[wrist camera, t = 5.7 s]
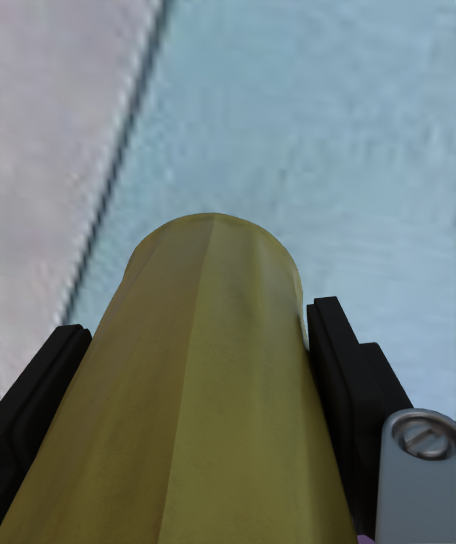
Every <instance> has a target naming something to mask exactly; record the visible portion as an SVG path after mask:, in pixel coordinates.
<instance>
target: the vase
mask: <svg viewBox="0 0 456 544" xmlns="http://www.w3.org/2000/svg"><path fill="white" fill-rule="evenodd" d="M302 302H303V291H302V285H301V279H300V276H299V273H298V269H297V267H296V265H295V262H294V260H293V258H292V257H291V255H290V254H289V253H288V251H287V250H286V249H285V247H284V246H283V245H282V244H281V243H280V242H279V241H278V240H277V239H276V238H275V237H274V236H273V235H271V234H270V233H269V232H268V231H266V230H265V229H263V228H262V227H260V226H258V225H256V224H254V223H251V222H249V221H246V220H243V219H240V218H237V217H234V216H230V215H226V214H220V213H201V214H193V215H187V216H183V217H180V218H176V219H174V220H172V221H169V222H168V223H166V224H164V225H162V226H161V227H159V228H157V229H156V230H154V231H153V232H152V233H150V234H149V235H148V236H147V237H146V238H144V239H143V240H142V241H141V242H140V244H139V245H138V246H137V247H136V248H135V250H134V252H133V253H132V255H131V257H130V259H129V261H128V264H127V267H126V269H125V273H124V276H123V279H122V282H121V284H120V285H119V287H118V289H117V291H116V292H115V294H114V296H113V298H112V300H111V301H110V303H109V305H108V307H107V309H106V311H105V313H104V315H103V317H102V319H101V321H100V323H99V325H98V328H97V330H96V332H95V334H94V336H93V339H92V341H91V343H90V345H89V347H88V349H87V352H86V354H85V356H84V357H83V359H82V361H81V363H80V365H79V367H78V369H77V371H76V373H75V375H74V377H73V378H72V380H71V382H70V384H69V386H68V388H67V390H66V392H65V394H64V396H63V398H62V401H61V403H60V405H59V407H58V409H57V411H56V413H55V416H54V418H53V420H52V422H51V425H50V427H49V429H48V431H47V433H46V435H45V437H44V439H43V442H42V444H41V446H40V448H39V450H38V453H37V455H36V458H35V460H34V462H33V463H32V465H31V467H30V469H29V471H28V473H27V475H26V477H25V479H24V481H23V482H22V484H21V486H20V488H19V490H18V492H17V494H16V496H15V498H14V500H13V502H12V504H11V506H10V508H9V510H8V512H7V514H6V516H5V518H4V520H3V522H2V524H1V526H0V544H359V542H358V538H357V534H356V531H355V527H354V524H353V520H352V517H351V514H350V510H349V507H348V503H347V500H346V496H345V493H344V489H343V485H342V481H341V477H340V473H339V469H338V465H337V462H336V458H335V454H334V450H333V446H332V442H331V437H330V432H329V428H328V423H327V418H326V414H325V409H324V405H323V401H322V397H321V393H320V389H319V385H318V381H317V378H316V374H315V370H314V366H313V363H312V359H311V355H310V351H309V344H308V339H307V334H306V330H305V325H304V320H303V309H302Z"/></svg>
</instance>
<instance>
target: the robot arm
mask: <svg viewBox="0 0 456 544" xmlns="http://www.w3.org/2000/svg"><path fill="white" fill-rule="evenodd" d="M307 322H308V337H309V351H310V355H311V359H312V363H313V366H314V370H315V374H316V378H317V381H318V385H319V389H320V393H321V397H322V401H323V405H324V409H325V414H326V418H327V423H328V428H329V432H330V437H331V442H332V446H333V450H334V454H335V458H336V462H337V465H338V469H339V473H340V477H341V481H342V485H343V489H344V493H345V496H346V500H347V503H348V507H349V510H350V514H351V517H352V520H353V524H354V527H355V531H356V534H357V536H359V535H365V536H367V537H368V538H370V539H371V540H373V541H374V542H375V544H456V421H454V420H453V419H451V418H450V417H448V416H446V415H443V414H441V413H439V412H436V411H432V410H427V409H419V408H414V407H413V405H412V404H411V402H410V400H409V398H408V396H407V395H406V393H405V391H404V389H403V387H402V386H401V384H400V382H399V380H398V379H397V377H396V375H395V373H394V371H393V370H392V368H391V366H390V364H389V362H388V361H387V359H386V357H385V355H384V353H383V352H382V350H381V348H380V346H379V345H378V344H377V343H375V342H373V343H363V344H359V342H358V340H357V338H356V336H355V334H354V332H353V330H352V328H351V326H350V324H349V322H348V320H347V317H346V315H345V313H344V311H343V309H342V307H341V305H340V303H339V301H338V299H337V297H336V296H333V297H324V298H315V299H314V304H310V305H307ZM91 341H92V336H91V333H90V331H89V329H84V328H83V327H82V325H80V324H75V325H66V326H58V327H57V328H56V329H55V330H54V331H53V333H52V334H51V335H50V337H49V338H48V339H47V340H46V342H45V343H44V344H43V346H42V347H41V348H40V350H39V351H38V352H37V354H36V355H35V356H34V358H33V359H32V360H31V362H30V363H29V364H28V365H27V367H26V368H25V369H24V371H23V372H22V373H21V375H20V376H19V377H18V379H17V380H16V381H15V383H14V384H13V385H12V386H11V388H10V389H9V390H8V392H7V393H6V394H5V396H4V397H3V398H2V400H1V401H0V526H1V524H2V522H3V520H4V518H5V516H6V514H7V512H8V510H9V508H10V506H11V504H12V502H13V500H14V498H15V496H16V494H17V492H18V490H19V488H20V486H21V484H22V482H23V481H24V479H25V477H26V475H27V473H28V471H29V469H30V467H31V465H32V463H33V462H34V460H35V458H36V455H37V453H38V450H39V448H40V446H41V444H42V442H43V439H44V437H45V435H46V433H47V431H48V429H49V427H50V425H51V422H52V420H53V418H54V416H55V413H56V411H57V409H58V407H59V405H60V403H61V401H62V398H63V396H64V394H65V392H66V390H67V388H68V386H69V384H70V382H71V380H72V378H73V377H74V375H75V373H76V371H77V369H78V367H79V365H80V363H81V361H82V359H83V357H84V356H85V354H86V352H87V349H88V347H89V345H90V343H91Z"/></svg>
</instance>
